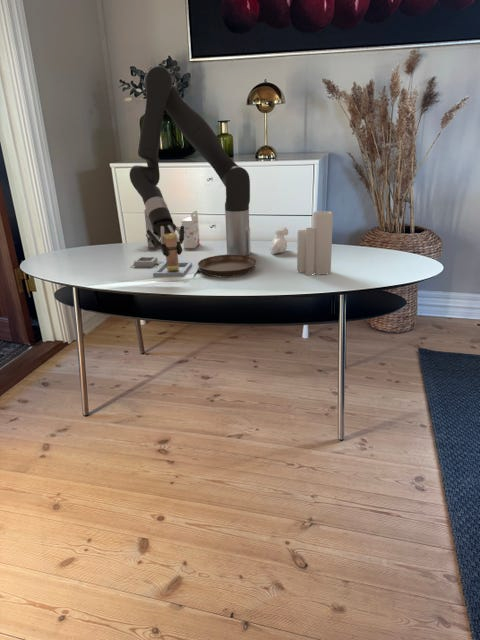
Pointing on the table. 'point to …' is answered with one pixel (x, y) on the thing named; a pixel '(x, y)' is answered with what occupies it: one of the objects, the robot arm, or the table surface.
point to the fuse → (171, 251)
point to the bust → (279, 241)
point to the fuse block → (146, 262)
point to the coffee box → (149, 227)
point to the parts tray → (172, 274)
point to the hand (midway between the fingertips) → (173, 254)
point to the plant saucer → (227, 265)
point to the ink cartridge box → (191, 231)
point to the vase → (316, 245)
